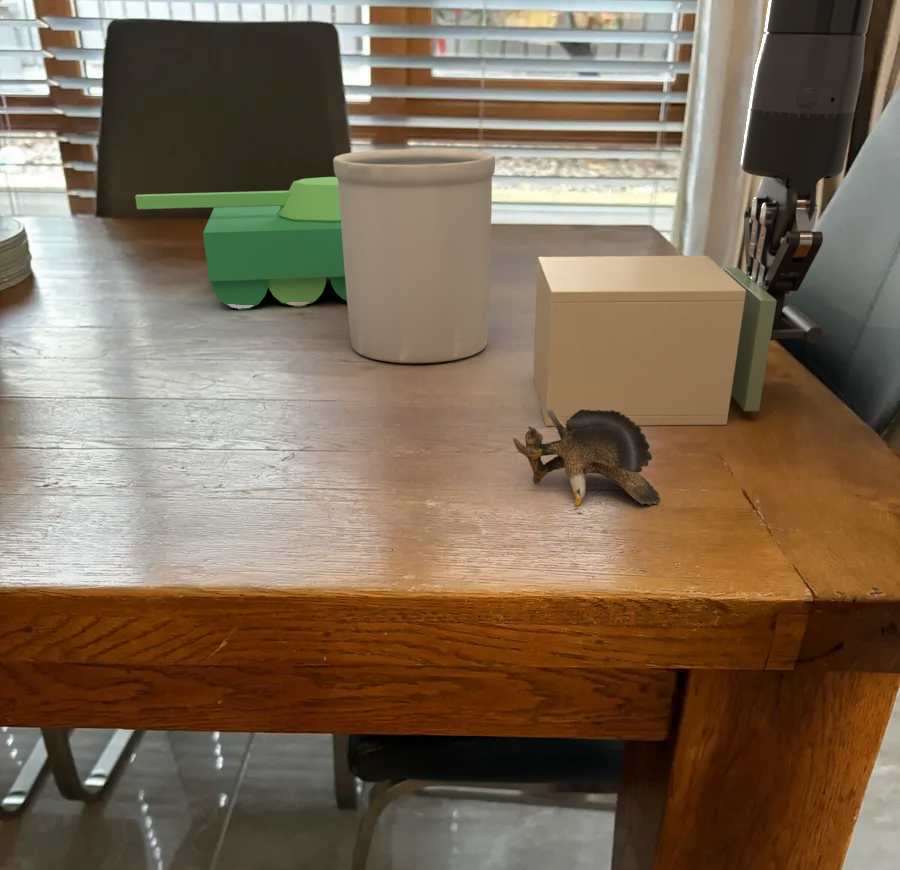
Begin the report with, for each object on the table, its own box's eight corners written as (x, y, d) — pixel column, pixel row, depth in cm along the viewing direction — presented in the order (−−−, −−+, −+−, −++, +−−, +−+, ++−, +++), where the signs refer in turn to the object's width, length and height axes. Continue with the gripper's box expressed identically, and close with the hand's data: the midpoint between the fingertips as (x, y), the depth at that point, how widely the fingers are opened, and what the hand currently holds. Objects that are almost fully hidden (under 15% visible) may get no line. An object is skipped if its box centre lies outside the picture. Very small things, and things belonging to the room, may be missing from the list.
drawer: (778, 367, 88) (795, 267, 84) (819, 410, 78) (841, 299, 74) (575, 369, 88) (581, 268, 84) (591, 412, 78) (599, 301, 74)
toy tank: (144, 176, 118) (432, 169, 122) (160, 281, 124) (433, 271, 128) (122, 197, 102) (452, 188, 106) (141, 316, 109) (452, 303, 113)
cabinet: (692, 375, 89) (707, 255, 84) (726, 424, 78) (746, 290, 73) (533, 377, 89) (537, 256, 84) (545, 426, 78) (551, 291, 73)
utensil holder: (345, 327, 104) (333, 147, 95) (483, 322, 105) (485, 144, 96) (344, 369, 92) (331, 166, 83) (502, 363, 93) (505, 163, 84)
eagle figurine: (511, 500, 64) (651, 492, 60) (511, 392, 64) (650, 379, 61) (541, 517, 71) (667, 511, 68) (541, 420, 71) (666, 410, 68)
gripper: (887, 112, 67) (833, 362, 76) (822, 99, 78) (782, 317, 87) (778, 111, 67) (737, 361, 75) (728, 97, 78) (698, 316, 87)
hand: (761, 337), depth 81 cm, fingers closed
